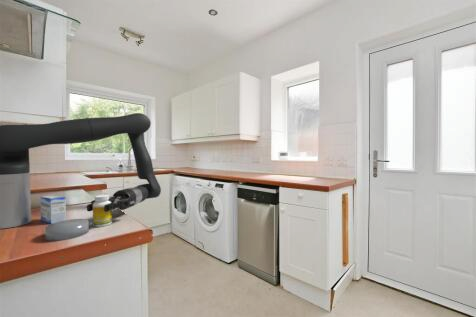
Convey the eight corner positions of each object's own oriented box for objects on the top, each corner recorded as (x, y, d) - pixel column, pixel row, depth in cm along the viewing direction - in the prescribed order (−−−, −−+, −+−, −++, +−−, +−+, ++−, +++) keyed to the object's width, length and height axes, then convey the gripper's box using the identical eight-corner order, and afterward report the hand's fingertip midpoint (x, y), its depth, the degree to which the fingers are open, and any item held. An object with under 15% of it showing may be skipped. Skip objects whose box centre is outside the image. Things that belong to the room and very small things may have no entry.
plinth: (35, 240, 60) (35, 229, 60) (67, 228, 70) (67, 218, 70) (69, 241, 59) (68, 230, 59) (96, 228, 69) (96, 219, 69)
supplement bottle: (92, 224, 73) (91, 195, 73) (110, 221, 77) (109, 193, 76) (94, 228, 69) (93, 198, 69) (113, 224, 73) (112, 195, 72)
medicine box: (40, 221, 78) (39, 196, 78) (55, 217, 82) (54, 194, 82) (51, 224, 74) (50, 198, 74) (66, 220, 78) (65, 196, 78)
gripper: (110, 188, 88) (75, 196, 71) (145, 188, 86) (117, 196, 69) (111, 207, 88) (76, 219, 71) (145, 207, 86) (118, 220, 70)
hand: (96, 208), depth 70 cm, fingers closed on supplement bottle, 5 cm apart
